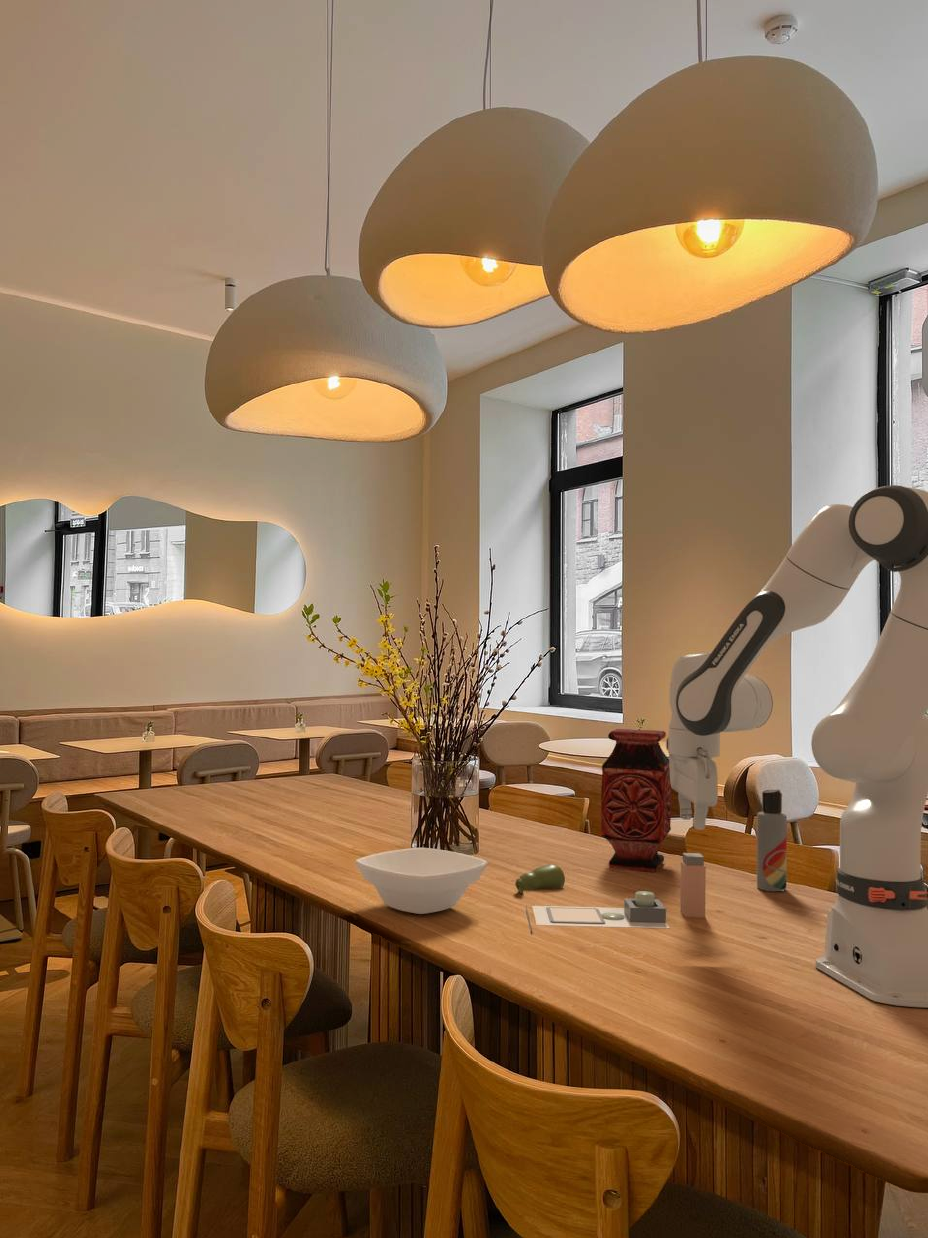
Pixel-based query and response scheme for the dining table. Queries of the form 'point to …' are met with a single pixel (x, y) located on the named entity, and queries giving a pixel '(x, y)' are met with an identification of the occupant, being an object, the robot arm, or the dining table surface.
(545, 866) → the pear
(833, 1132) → the dining table surface
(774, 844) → the lotion bottle
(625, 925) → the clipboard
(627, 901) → the button housing
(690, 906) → the terracotta rectangular block
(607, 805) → the vase
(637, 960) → the dining table surface
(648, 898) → the button
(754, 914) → the dining table surface
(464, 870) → the bowl
